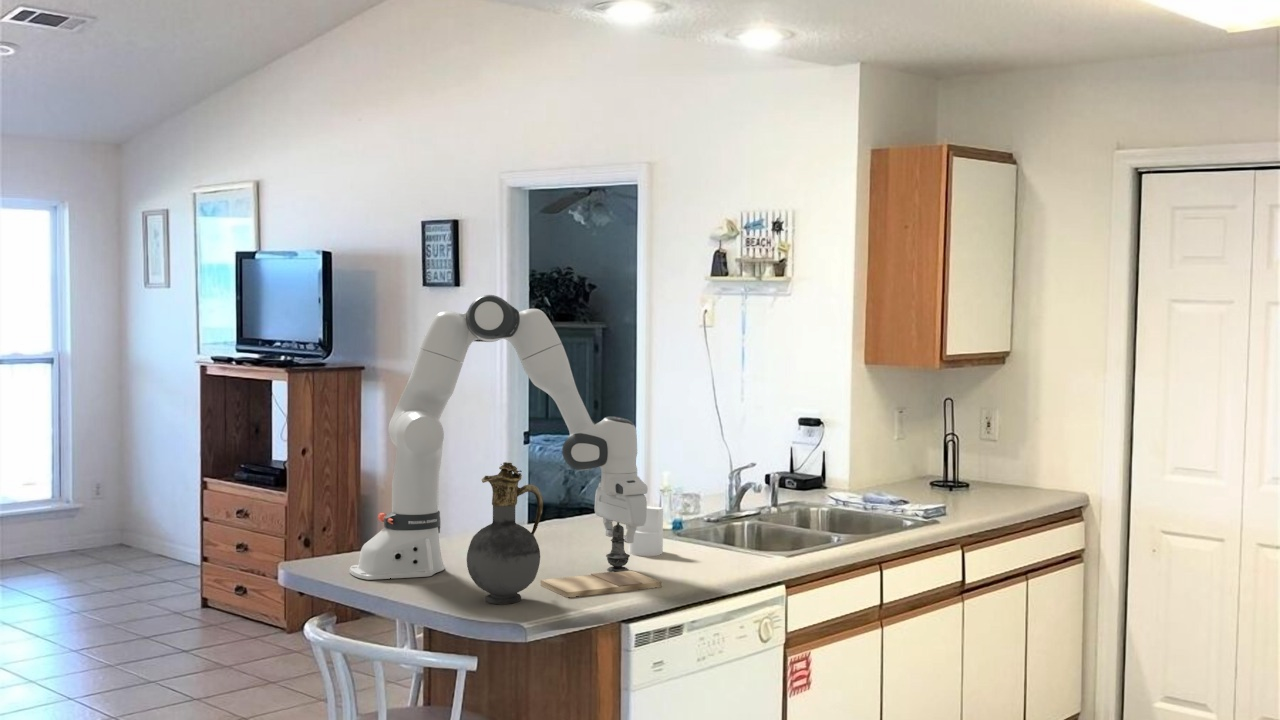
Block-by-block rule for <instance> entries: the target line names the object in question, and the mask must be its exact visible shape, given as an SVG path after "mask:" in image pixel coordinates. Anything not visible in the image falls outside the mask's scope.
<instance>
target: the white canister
mask: <svg viewBox="0 0 1280 720" xmlns="http://www.w3.org/2000/svg"><path fill="white" fill-rule="evenodd" d="M663 543H664V508H663V507H660V506H659V507H658V506H650V505H649V506H648V505H647V516H646V522H645V524H644V526H639V527H636V531H635V534H634V542H633V543H628V552H627V554H628V555H631V554H632V555H633V556H639V557H654V556H655V557H656V556H659V555H660V554H661V555H663V545H664V544H663Z"/></svg>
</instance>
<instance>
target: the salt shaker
mask: <svg viewBox="0 0 1280 720" xmlns="http://www.w3.org/2000/svg"><path fill="white" fill-rule="evenodd" d="M624 535H625V528H624V526H623V525H622V524H620V523H619V522H616V525H613V529H612V537H611V539H610V541H611V549H610V552H609V553H606V555H605V557H606V560H607V563H608V564H609V565H610V566H609V567H608V568H606V572H622V571H629V568H627V567H626V565H627V563H628V562H629V560H630V559H629V558H630V556H631V554H629V553H626V551H625V541H624V540H625V539H624Z"/></svg>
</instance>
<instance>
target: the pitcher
mask: <svg viewBox="0 0 1280 720" xmlns="http://www.w3.org/2000/svg"><path fill="white" fill-rule="evenodd" d="M499 470H500V471H499V473H498V474H495V475H484V477H483V478H482V479H481V482H482V483H489V485H490V486H491V488H492V496H491V497H492V498H491V499H492V500H491V506H492V523H490V524H488V525H486V526H485V527H483V528H481V529H480V530H479V531H478V532H476V533H475V534H474V535H473V536H472V537H471V540H470V542H469V545H468V550H467V554H466V566H467V570H468V571H467V572H468V573H469V576H470V578H471V580H472V581H473V582H474V583H475V585H476V586H477V587H478V588H479V589H481V590H483V591H484V592H486V593H489V594H487V595H486V596H485V601H486V603H489V604H493V605H508V604H514V603H517V602H520V601H522V595H521V594H520V593H521V592H522V591H524V590H525V589H527V588H528V587H529V586H531V584H532V583H533V582H534V581H535V579H536V577H537V575H538V571H539V568H540V564H541V550H540V547H539V543H538V541H537V538H536V537H535V533H536V532H537V529H538V526H539V524H540V520H541V516H542V515H543V507H544V502H543V501H544V498H543V496H542V494H541V492H540V489H539V487H538V486H536V485H535V484H525V485H523V486H521V487H518V486H519V482H520V481H521V480H522V471H523V470H518V467H517V466H516V465H513V462H507V461H505V462H503V463H500V466H499ZM528 492H530V493H533V494H534V496H535V498H536V502H537V503H536V504H537V508H536V518H535V521H534V524H533V526H532V531H530V530H528V528H526V527H524V526H523V525H520V524H519V523H517V522H516V506H517V504H518V497H520V496H522V495H523V494H525V493H528Z"/></svg>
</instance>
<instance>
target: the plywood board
mask: <svg viewBox="0 0 1280 720" xmlns="http://www.w3.org/2000/svg"><path fill="white" fill-rule="evenodd" d="M540 586H542V587H544V588H546V589H548V590H550V591H552V592H554V593H556V594H559V595H560V596H563V597H565V598H566V599H567V598H568V597H570V598H577V597H576V596H579V597H585V596H586V597H587V596H594V595H595V596H596V595H603V594H613V593H621V592H628V591H629V592H630V591H639V590H638V589H640V590H647V589H646V588H648V589H656V588H655V587H657V588H662V581H660V580H658V579H655V578H653V577H649V576H648V575H645V574H642V573H639V572H637V571H634V570H628V571H622V572H610V571H606V572H605V571H604V572H599V573H598V572H597V573H590V574H585V575H575V576H567V577H558V578H547V579H540Z"/></svg>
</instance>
